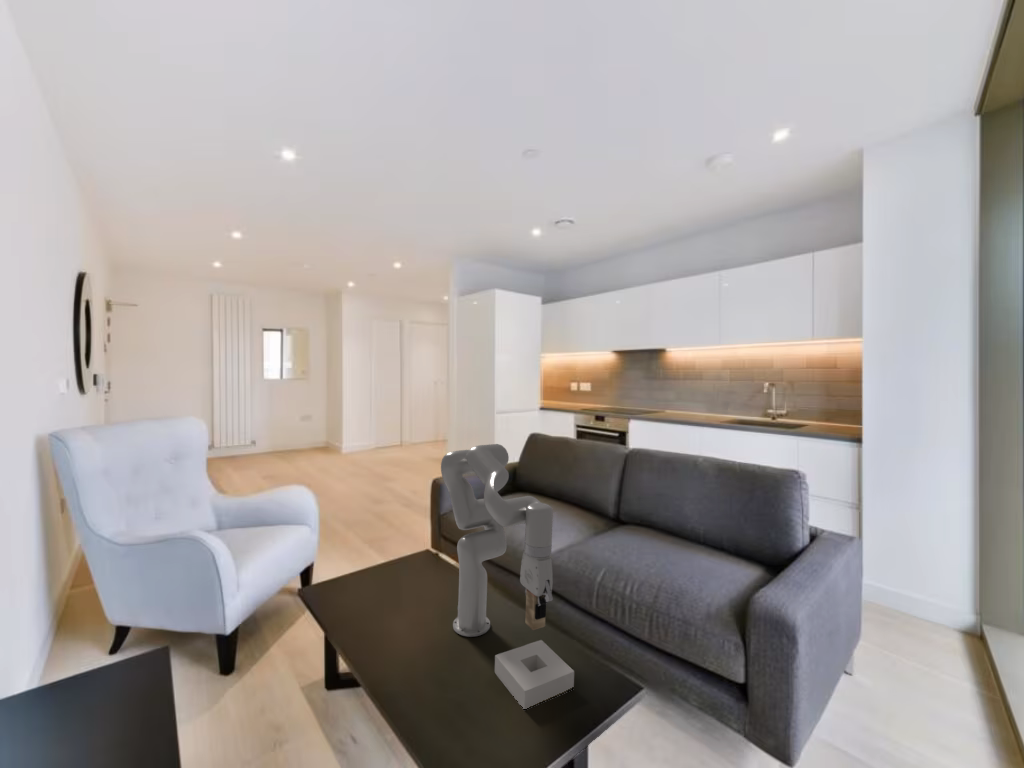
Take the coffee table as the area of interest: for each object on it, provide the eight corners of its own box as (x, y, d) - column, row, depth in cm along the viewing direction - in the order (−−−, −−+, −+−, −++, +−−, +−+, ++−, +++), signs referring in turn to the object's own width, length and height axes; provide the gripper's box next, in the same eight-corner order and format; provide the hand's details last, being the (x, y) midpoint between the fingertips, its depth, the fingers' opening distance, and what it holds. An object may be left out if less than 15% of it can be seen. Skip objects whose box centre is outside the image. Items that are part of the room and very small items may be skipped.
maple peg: (525, 622, 122) (526, 587, 121) (537, 619, 124) (538, 584, 123) (532, 630, 118) (534, 594, 118) (545, 626, 120) (546, 590, 120)
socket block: (494, 672, 124) (495, 655, 124) (540, 655, 132) (541, 639, 132) (524, 710, 110) (524, 691, 110) (573, 689, 118) (574, 671, 118)
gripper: (511, 540, 126) (509, 603, 126) (543, 563, 111) (541, 633, 112) (532, 536, 130) (530, 597, 130) (567, 557, 115) (564, 625, 115)
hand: (535, 613), depth 121 cm, fingers closed on maple peg, 4 cm apart
